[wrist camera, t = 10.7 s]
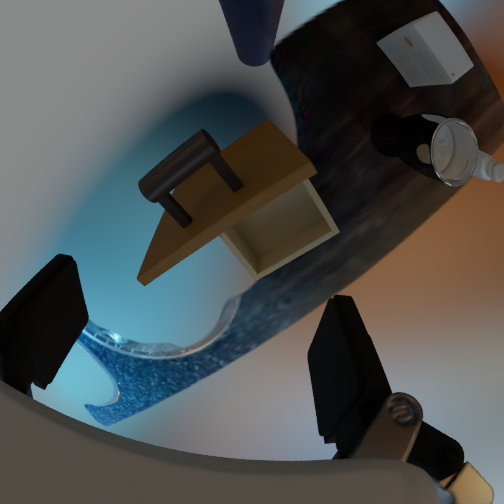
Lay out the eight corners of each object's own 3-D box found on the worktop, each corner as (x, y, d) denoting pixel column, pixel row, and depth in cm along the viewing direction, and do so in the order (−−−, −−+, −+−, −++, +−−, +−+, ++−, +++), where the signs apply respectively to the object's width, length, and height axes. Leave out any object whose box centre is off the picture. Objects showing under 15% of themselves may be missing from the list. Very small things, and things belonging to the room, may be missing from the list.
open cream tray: (329, 217, 37) (339, 232, 33) (256, 261, 41) (255, 281, 36) (268, 121, 32) (270, 122, 27) (189, 176, 35) (179, 186, 30)
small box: (430, 71, 26) (475, 67, 17) (409, 88, 28) (453, 85, 18) (398, 27, 23) (437, 9, 14) (374, 42, 25) (411, 23, 16)
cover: (318, 173, 13) (263, 90, 11) (144, 286, 17) (88, 235, 14) (272, 125, 27) (245, 88, 24) (180, 189, 30) (152, 158, 28)
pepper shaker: (467, 168, 32) (511, 187, 22) (445, 175, 33) (490, 197, 23) (462, 136, 30) (509, 149, 20) (439, 142, 31) (487, 156, 21)
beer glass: (358, 131, 32) (416, 144, 18) (390, 101, 29) (459, 101, 16) (387, 169, 34) (450, 202, 20) (418, 140, 31) (487, 160, 18)
